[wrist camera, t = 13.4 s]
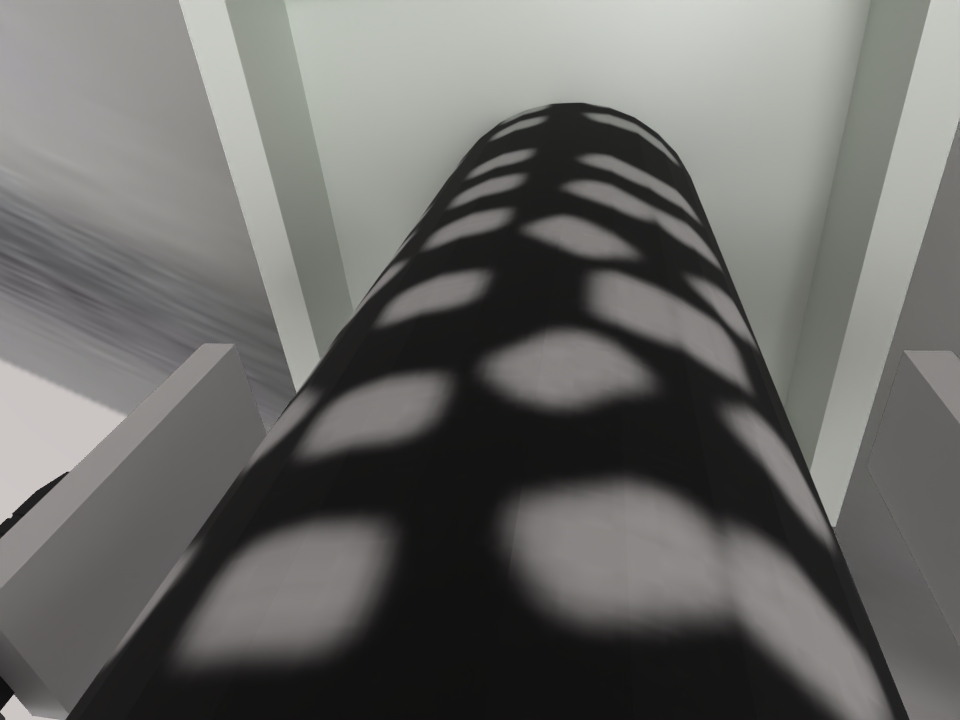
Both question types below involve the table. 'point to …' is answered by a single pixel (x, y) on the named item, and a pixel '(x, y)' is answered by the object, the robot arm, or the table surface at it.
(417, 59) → the tray
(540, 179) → the spotted tube
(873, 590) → the table surface
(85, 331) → the table surface
